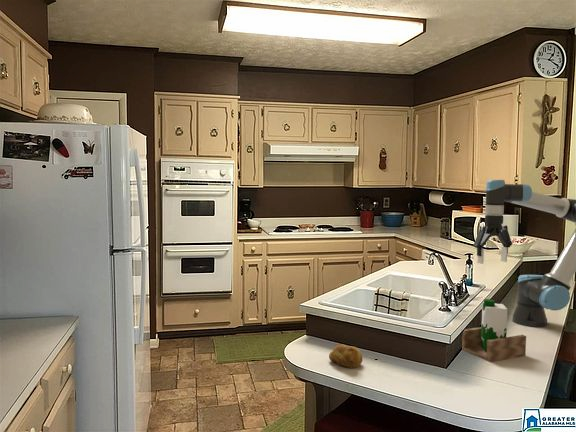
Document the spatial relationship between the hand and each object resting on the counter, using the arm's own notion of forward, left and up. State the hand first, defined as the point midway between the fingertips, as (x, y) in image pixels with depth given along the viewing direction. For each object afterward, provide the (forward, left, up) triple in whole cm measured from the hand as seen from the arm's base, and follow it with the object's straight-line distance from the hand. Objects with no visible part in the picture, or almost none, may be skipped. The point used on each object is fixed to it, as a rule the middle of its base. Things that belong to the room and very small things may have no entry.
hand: (492, 262), depth 221 cm
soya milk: (+18, +20, -31) cm, 41 cm away
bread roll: (+79, +10, -32) cm, 85 cm away
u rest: (+18, +20, -32) cm, 42 cm away
